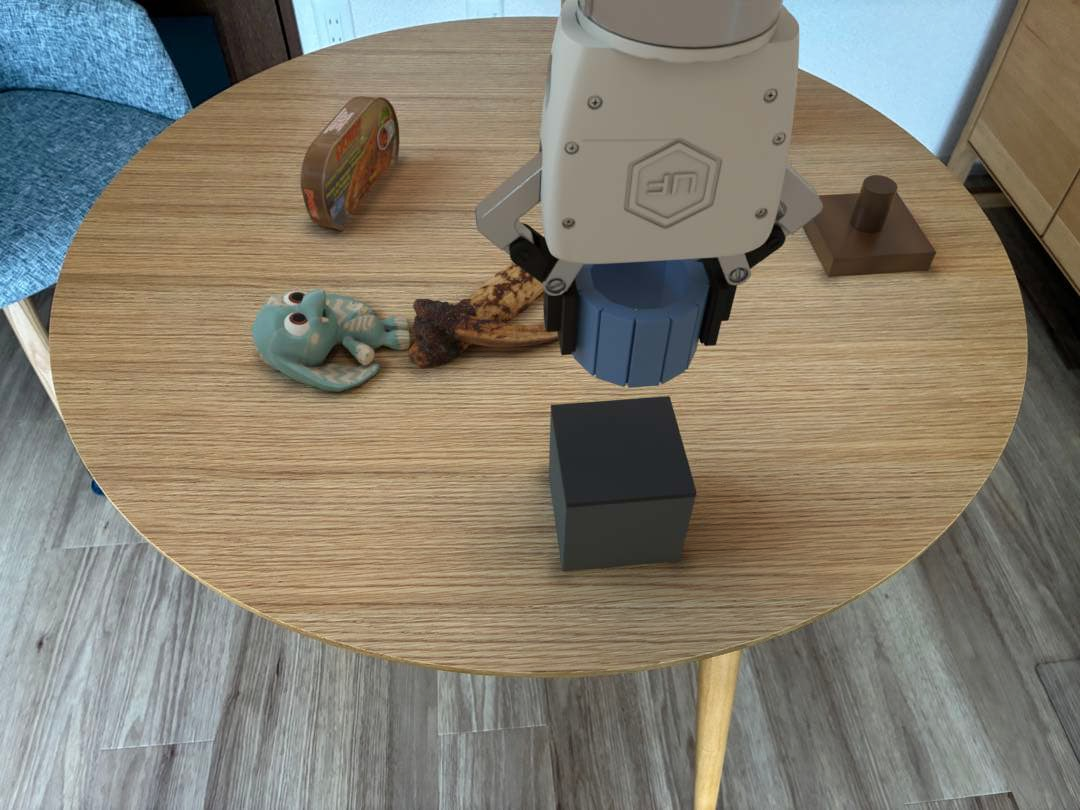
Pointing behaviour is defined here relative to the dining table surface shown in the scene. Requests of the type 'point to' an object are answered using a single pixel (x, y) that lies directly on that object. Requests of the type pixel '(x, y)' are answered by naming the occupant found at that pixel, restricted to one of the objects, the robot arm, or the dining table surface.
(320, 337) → the teal creature figurine
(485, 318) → the bone fish hook
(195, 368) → the dining table surface
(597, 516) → the block
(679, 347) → the ring
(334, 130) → the tin
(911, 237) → the platform
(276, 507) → the dining table surface
